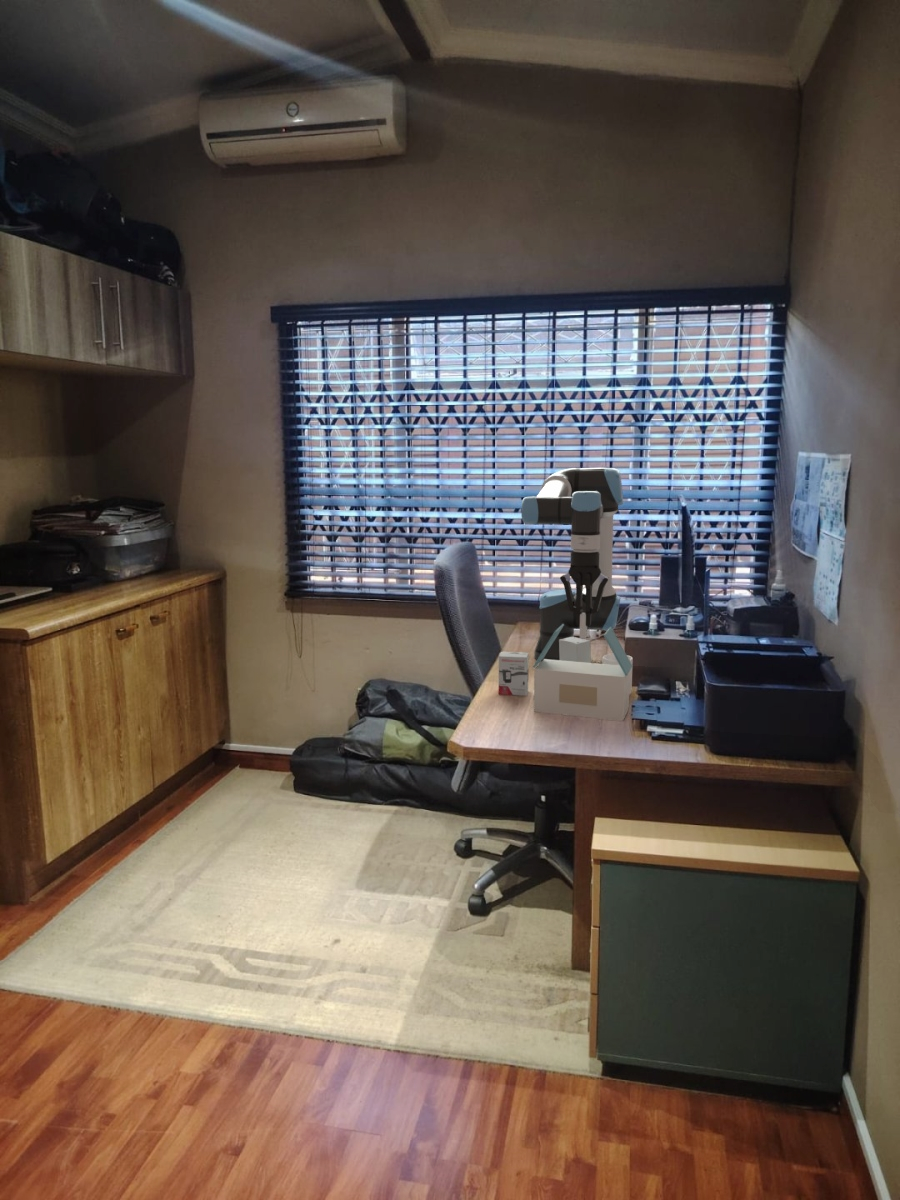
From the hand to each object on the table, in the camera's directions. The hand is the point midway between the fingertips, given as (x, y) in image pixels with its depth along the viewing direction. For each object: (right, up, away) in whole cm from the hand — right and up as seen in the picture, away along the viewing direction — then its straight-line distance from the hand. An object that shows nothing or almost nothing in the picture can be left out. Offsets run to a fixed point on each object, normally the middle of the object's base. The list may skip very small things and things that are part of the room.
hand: (583, 637), depth 208 cm
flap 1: (-9, -3, +4) cm, 10 cm away
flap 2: (+9, -4, -3) cm, 10 cm away
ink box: (-17, -18, +20) cm, 32 cm away
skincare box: (+2, -16, +24) cm, 29 cm away
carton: (0, -20, +4) cm, 20 cm away
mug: (+13, -18, +17) cm, 28 cm away
